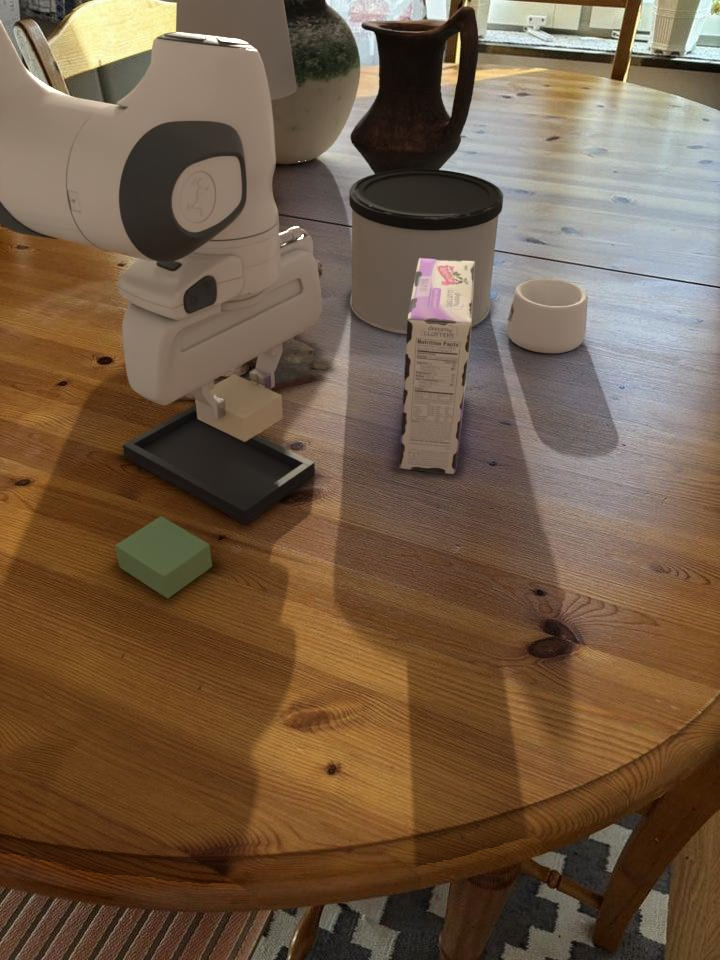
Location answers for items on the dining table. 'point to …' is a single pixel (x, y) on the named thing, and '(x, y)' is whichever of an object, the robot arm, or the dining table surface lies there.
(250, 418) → the cream pad
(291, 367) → the cherub figurine
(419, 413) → the candy box
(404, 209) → the container
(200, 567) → the sage pad
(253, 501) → the dark serving tray
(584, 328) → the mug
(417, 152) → the jug
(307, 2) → the vase
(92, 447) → the dining table surface
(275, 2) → the lamp
